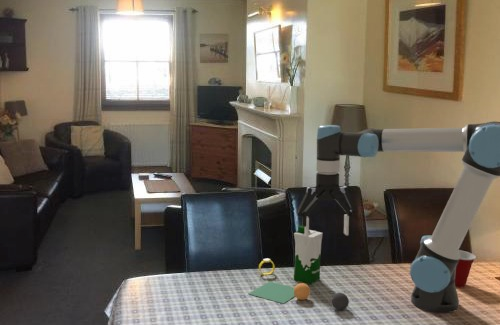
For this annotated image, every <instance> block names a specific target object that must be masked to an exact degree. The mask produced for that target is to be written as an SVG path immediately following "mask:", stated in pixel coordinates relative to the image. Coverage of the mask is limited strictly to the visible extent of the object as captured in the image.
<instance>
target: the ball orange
mask: <svg viewBox="0 0 500 325" xmlns="http://www.w3.org/2000/svg"><path fill="white" fill-rule="evenodd" d="M293 288H294V295H295V298H296V299H297V300H300V301H303V300H307V299H308V298H309V296H310V294H311V289H310V287H309V284H306V283H303V282H299V283H298V284H296V285H295V286H294V287H293Z"/></svg>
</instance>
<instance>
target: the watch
mask: <svg viewBox="0 0 500 325" xmlns="http://www.w3.org/2000/svg"><path fill="white" fill-rule="evenodd" d="M265 263H266V264H267V263H271V264H272V268H271V270H270V272H262V270H261V269H262V265H263V264H265ZM275 269H276V266H275V264H274V262H273V261H272V260H271V258H268V257H267V258H263V259H262V260H261V262H260V263H259V264H258V271H259V273H260V274H261V275H262V276H270V275H272V274H274V271H275Z"/></svg>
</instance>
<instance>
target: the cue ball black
mask: <svg viewBox="0 0 500 325" xmlns="http://www.w3.org/2000/svg"><path fill="white" fill-rule="evenodd" d="M349 300H350V299H349V297H348V296H347V295H346V294H345V293H343V292H337V293H334V294H333V296H332V298H331V305H332V307H333V308H334V309H335V310H337V311H344V310H346V308H348V307H349V303H350V301H349Z"/></svg>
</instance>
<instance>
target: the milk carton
mask: <svg viewBox="0 0 500 325" xmlns="http://www.w3.org/2000/svg"><path fill="white" fill-rule="evenodd" d="M304 232H305V227H303V226H302V224H300V225H298V226H297V231H296V232H294V233H293V236H294V244H295V246H294V247H295V248H294V250H295V251H294V270H293V271H294V272H293V281H296V282H299V283H304V284H306V285H312V284H313V283H316V282H318V281H320V277H321V256H322V255H321V253H322V252H321V251H322V240H323V232H320V231H317V230H312V229H309V237H306V236H305V235H304Z"/></svg>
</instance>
